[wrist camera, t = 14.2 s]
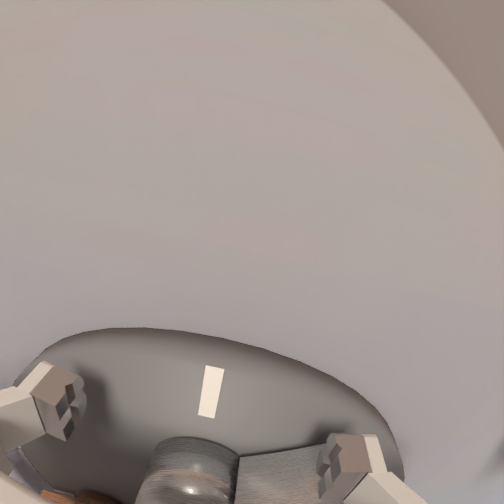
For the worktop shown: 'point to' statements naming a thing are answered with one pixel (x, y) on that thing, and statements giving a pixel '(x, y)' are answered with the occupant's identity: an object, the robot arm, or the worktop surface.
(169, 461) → the knob steel
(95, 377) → the tribrach
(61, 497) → the knob copper
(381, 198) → the worktop surface
